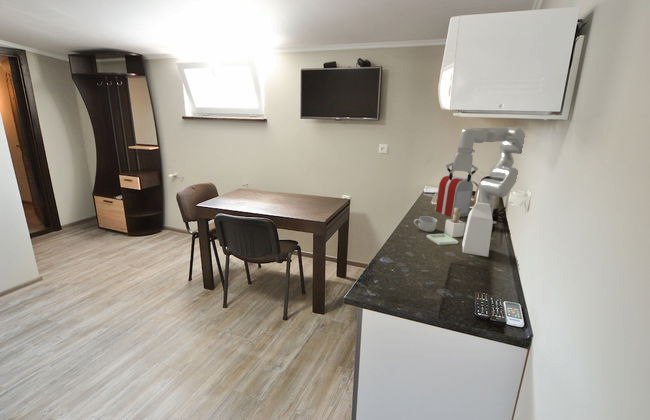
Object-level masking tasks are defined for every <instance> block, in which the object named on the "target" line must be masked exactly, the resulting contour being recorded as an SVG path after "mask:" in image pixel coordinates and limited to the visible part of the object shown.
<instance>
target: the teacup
mask: <svg viewBox="0 0 650 420" xmlns="http://www.w3.org/2000/svg"><path fill="white" fill-rule="evenodd" d="M417 222H418V224H417ZM437 223H438V219H437V218H435V217H433V216H430V215H429V216H428V215H422V216H421V215H420V216H419V218H416V219H414V220H413V224H414V225H415V226H416V227H417V228H418V229H419V230H421V231H422V232H425V233H432V232H434V231H435V230H436V228H437V225H438V224H437Z"/></svg>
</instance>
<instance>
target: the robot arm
mask: <svg viewBox="0 0 650 420" xmlns="http://www.w3.org/2000/svg"><path fill="white" fill-rule="evenodd" d="M525 135H526V133H525V131H524V130H523V129H522V128H520V127H518V126H517V127H516V126H515V127H514V126H496V127H477V128H475V127H474V128H473V127H472V128H463V129H462V130H461V131H460V135H459V141H458V146H457V152H455V155H454V157H453V160H452V162H451V163H448V164H446V165H445V167H446V171H448V173H449V179H450V180H452V176H453V174H454V172H455V171H457V172H467V173H468V174H467V182H469V181H470V180H471V179H472V176H473V175H474V174H476V172H477V171H478V170H479V168H478V167H477V166H475V165H473V155H474V154H473V153H475V151H476V150H475V149H473V148H474V144H475V143H476V144H483V143H495V142H496V143H497V142H500V144H499V151H500V153H499V154H500V157H499V159H498V161H497V162H496V164H495V165H494V166H493V168H492V170H491V171H490V174H489V176H490V178H483V179H482V180H480V182H479V184H478V199H477V203H485V204H490V208H491V213H492V214H493V212H494V208H495V203H496V201H495V197H498V198H505V197H506V196H508V194H509V193H510V192H511V190H512V189H513V187H514V186H515V184H516V182H517V181H516V179H517V175H518V171H519V170H518V169H517V168H515V167H513V166H514V163H515V161H514V160H515V159H514V157H513V155H512V154H517V155H522V154H521V153H522V148H523V144H524V138H525ZM450 167H451V169H450ZM472 168H473V170H472ZM517 180H518V179H517ZM471 181H472V180H471ZM496 224H497V221H495V220H493V224H492V225H496ZM493 228H494V227H493V226H492V229H493Z"/></svg>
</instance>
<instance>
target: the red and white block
mask: <svg viewBox="0 0 650 420" xmlns="http://www.w3.org/2000/svg"><path fill="white" fill-rule="evenodd" d="M438 183H439V184H438V187H437V188H438V189H437V196H436V203H435V208H434V211H435V212H437V213H439V214H441V215H445V216H447V217H450V218H452V219H453V214H454V208H460V209H461V212H460V217H468V215H469V213H470V208H471V201H472V196H473V191H474V184H473V181H472V180H470V181H469V182H467V179H466V178H463V177H459V176H452V180H450V179H449V175H444V176H442V178H440V181H439V182H438Z"/></svg>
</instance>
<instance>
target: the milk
mask: <svg viewBox="0 0 650 420" xmlns="http://www.w3.org/2000/svg"><path fill="white" fill-rule="evenodd" d="M493 221H494V220H493V213H491V208H490V204H485V203H478V202H476V203H475V204H474V205H473V206H472V208H471V210H469V215H468V216H467V219H466V223H465V229H464V234H463V239H462V243H461V244H462V249H461V250H462V253H464V254H468V255H469V254H470V255H475V256H482V257H488V258H489V253H490V245H491V239H492V238H491V237H492V230H493V228H492V227H493V225H494V224H493Z"/></svg>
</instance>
